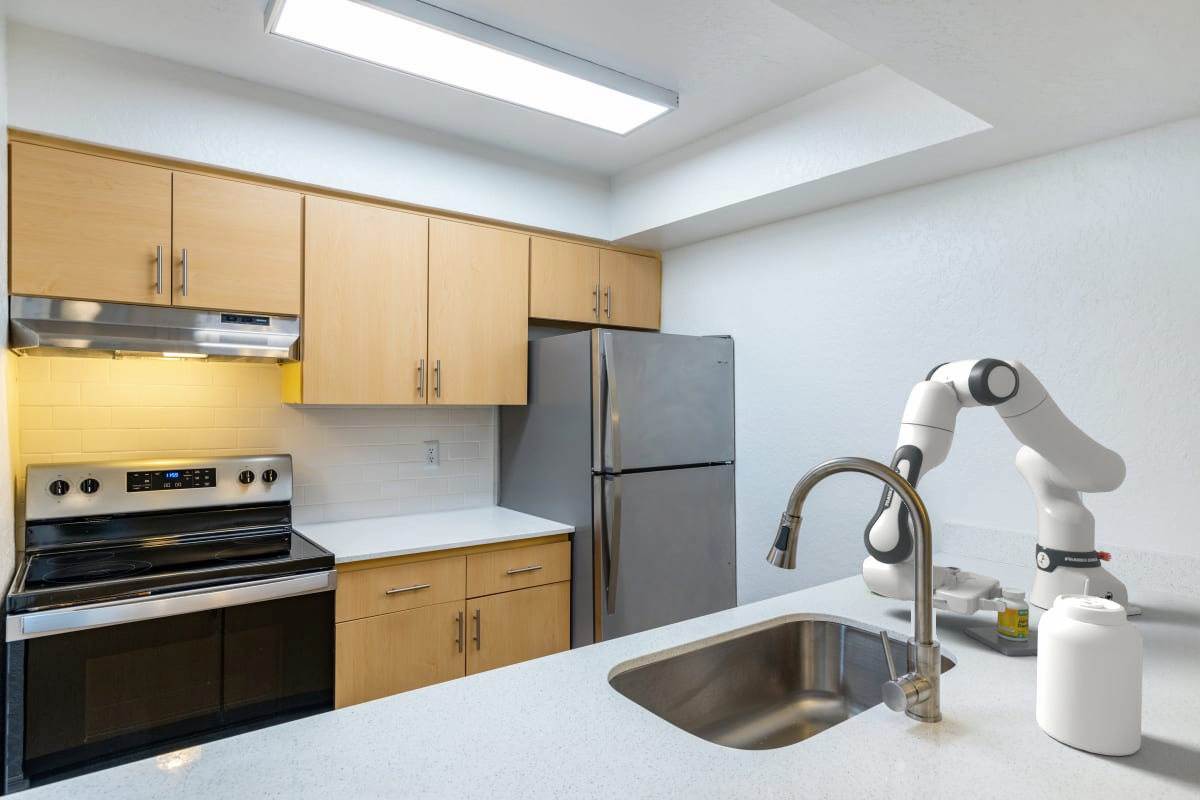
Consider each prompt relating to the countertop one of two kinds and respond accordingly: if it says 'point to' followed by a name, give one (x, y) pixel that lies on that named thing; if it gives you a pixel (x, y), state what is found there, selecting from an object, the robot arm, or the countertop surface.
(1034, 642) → the coaster
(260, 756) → the countertop surface
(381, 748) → the countertop surface
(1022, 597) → the supplement bottle
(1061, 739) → the white plastic jar
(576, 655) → the countertop surface
